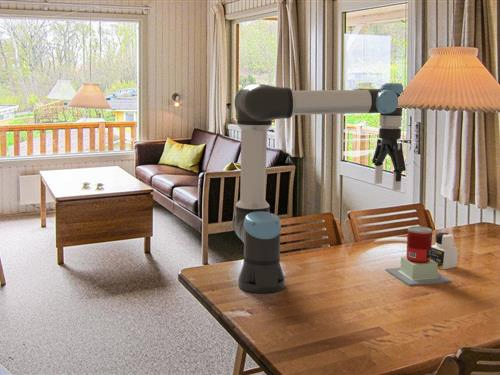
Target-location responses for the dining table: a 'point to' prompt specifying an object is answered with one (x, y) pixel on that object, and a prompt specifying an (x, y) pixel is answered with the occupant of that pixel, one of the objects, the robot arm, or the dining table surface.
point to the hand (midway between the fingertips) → (387, 186)
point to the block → (419, 269)
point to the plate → (411, 282)
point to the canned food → (419, 244)
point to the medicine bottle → (444, 251)
